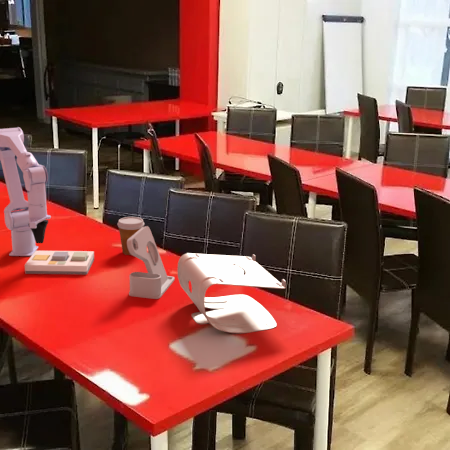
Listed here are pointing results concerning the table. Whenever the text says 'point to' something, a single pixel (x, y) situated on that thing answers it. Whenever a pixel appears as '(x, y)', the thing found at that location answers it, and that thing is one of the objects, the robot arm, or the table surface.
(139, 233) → the phone holder
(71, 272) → the keyguard panel
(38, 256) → the key ochre
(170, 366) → the table surface
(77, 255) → the key sage
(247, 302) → the portable electronic device stand
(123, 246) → the disposable coffee cup
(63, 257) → the key slate
